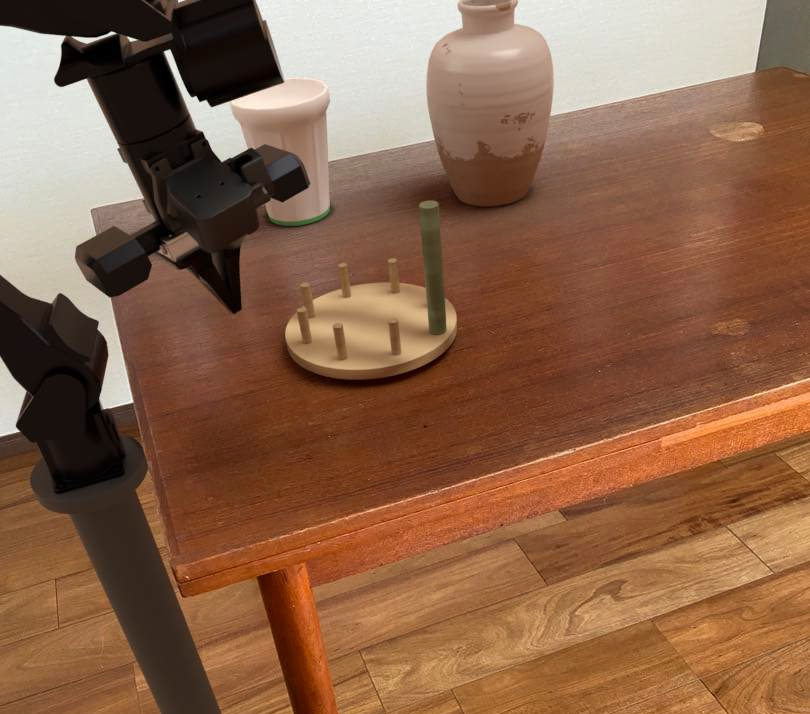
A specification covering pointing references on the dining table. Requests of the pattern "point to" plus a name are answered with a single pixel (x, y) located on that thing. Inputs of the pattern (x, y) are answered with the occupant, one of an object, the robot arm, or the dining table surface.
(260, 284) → the dining table surface
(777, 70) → the dining table surface
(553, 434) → the dining table surface
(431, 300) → the wooden peg board
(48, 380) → the robot arm
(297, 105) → the cup
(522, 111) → the vase
